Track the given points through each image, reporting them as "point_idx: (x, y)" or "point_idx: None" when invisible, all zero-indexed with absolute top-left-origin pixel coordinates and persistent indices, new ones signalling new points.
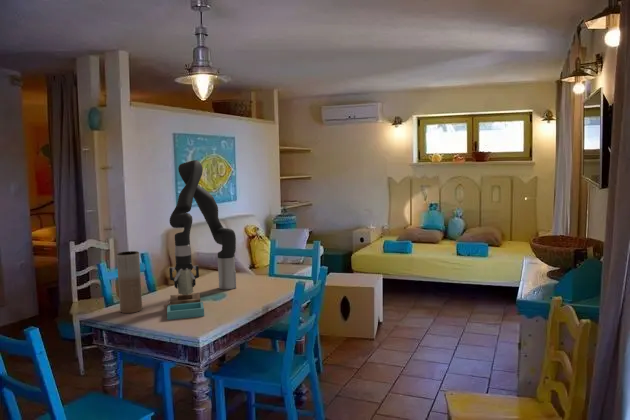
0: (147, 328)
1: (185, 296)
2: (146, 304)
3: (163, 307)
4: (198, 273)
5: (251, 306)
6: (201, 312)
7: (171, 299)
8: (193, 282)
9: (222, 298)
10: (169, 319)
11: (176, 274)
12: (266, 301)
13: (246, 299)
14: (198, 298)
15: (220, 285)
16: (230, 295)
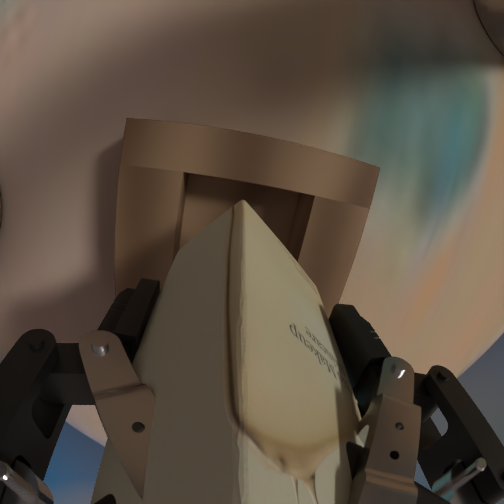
0: (89, 435)
1: (253, 182)
2: (22, 93)
3: (93, 213)
4: (433, 444)
5: None
6: None
7: (124, 271)
8: None
9: (457, 197)
10: None
11: (107, 446)
12: (496, 329)
13: (492, 276)
14: None
15: (492, 15)
16: (493, 164)
